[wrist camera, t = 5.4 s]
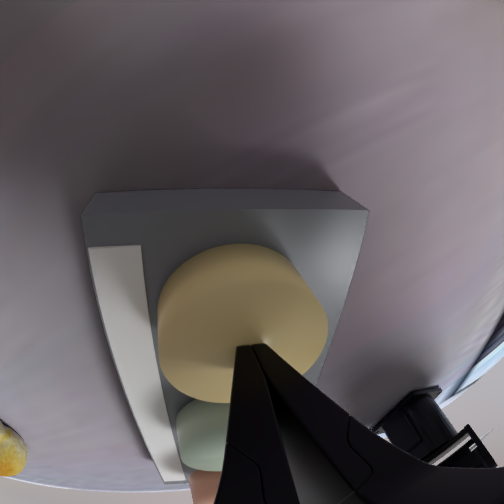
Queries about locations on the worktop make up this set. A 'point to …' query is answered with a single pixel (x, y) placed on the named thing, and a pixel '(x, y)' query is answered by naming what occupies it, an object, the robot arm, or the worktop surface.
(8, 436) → the bread roll
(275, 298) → the ochre button
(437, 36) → the worktop surface
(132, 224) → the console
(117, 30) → the worktop surface
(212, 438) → the sage button
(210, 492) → the terracotta button
